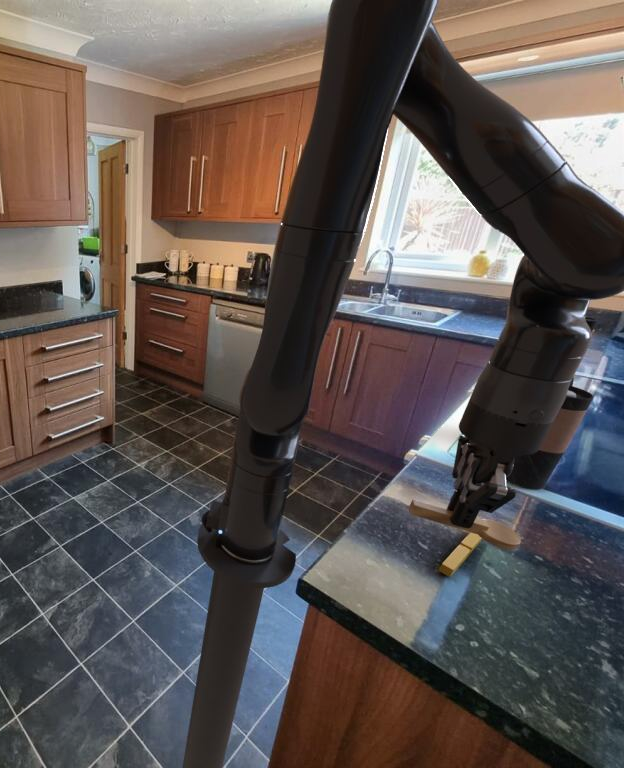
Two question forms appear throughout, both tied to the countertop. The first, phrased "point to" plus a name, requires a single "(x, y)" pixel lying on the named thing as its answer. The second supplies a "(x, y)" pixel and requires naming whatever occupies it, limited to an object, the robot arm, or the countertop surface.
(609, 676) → the countertop surface
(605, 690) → the countertop surface
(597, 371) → the countertop surface
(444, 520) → the spoon
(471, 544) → the bar
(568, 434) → the travel mug
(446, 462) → the countertop surface
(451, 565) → the bar
